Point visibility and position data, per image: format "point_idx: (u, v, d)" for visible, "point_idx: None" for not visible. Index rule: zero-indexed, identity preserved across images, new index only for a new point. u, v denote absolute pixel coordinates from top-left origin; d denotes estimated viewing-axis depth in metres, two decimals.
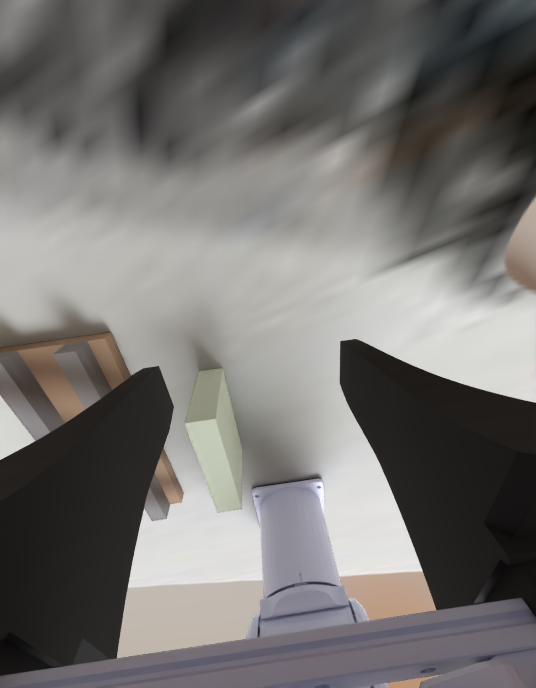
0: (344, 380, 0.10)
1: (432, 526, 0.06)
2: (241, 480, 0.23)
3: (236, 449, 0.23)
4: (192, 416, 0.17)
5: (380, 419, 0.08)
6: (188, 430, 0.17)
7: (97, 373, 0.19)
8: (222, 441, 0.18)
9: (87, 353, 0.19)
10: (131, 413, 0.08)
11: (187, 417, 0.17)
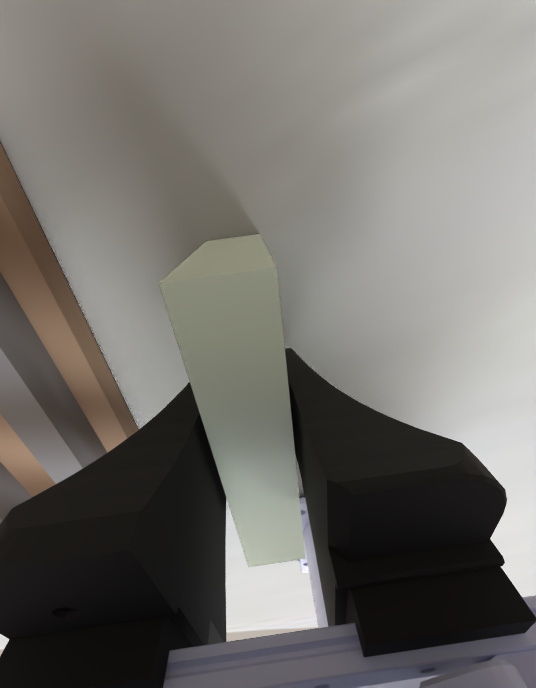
0: None
1: (318, 544, 0.06)
2: None
3: None
4: (190, 273, 0.05)
5: (295, 431, 0.08)
6: (175, 318, 0.05)
7: None
8: None
9: None
10: None
11: (172, 275, 0.05)
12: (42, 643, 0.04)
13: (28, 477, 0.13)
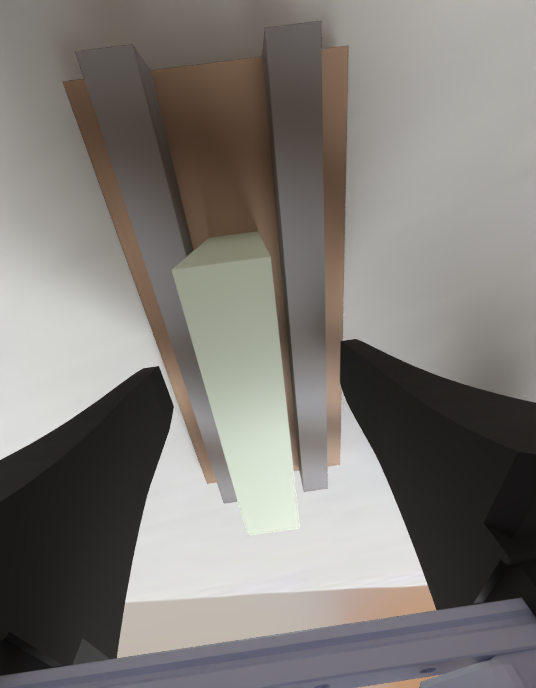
0: (344, 380, 0.10)
1: (432, 527, 0.06)
2: None
3: None
4: (197, 262, 0.06)
5: (380, 419, 0.08)
6: (184, 300, 0.06)
7: None
8: (279, 348, 0.06)
9: None
10: (131, 413, 0.08)
11: (182, 264, 0.06)
12: None
13: None
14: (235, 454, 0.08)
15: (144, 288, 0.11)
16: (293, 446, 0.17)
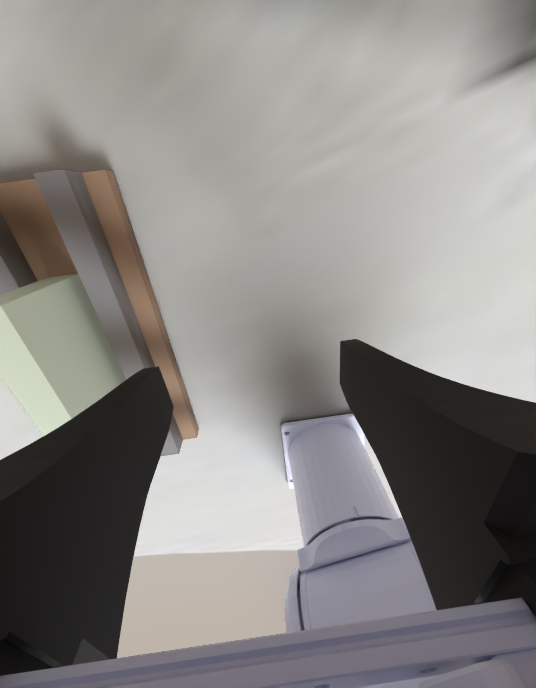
0: (344, 380, 0.10)
1: (432, 526, 0.06)
2: None
3: (107, 389, 0.17)
4: None
5: (380, 419, 0.08)
6: None
7: (95, 223, 0.14)
8: (30, 350, 0.12)
9: (81, 187, 0.14)
10: (131, 413, 0.08)
11: None
12: None
13: None
14: (31, 411, 0.13)
15: None
16: None
